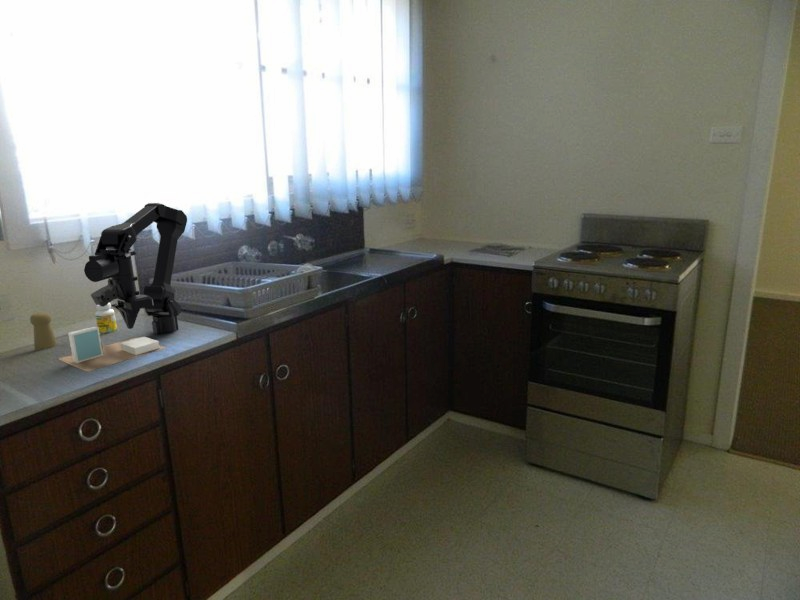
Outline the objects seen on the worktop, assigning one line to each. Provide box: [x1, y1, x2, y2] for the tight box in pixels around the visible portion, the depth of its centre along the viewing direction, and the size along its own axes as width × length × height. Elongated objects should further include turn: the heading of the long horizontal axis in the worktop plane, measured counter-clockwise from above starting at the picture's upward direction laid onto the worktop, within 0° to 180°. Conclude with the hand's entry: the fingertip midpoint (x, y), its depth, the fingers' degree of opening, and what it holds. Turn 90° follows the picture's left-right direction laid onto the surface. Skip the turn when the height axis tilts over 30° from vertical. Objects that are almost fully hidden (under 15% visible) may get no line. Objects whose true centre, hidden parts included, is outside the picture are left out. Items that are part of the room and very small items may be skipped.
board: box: [57, 337, 167, 373], centre depth 162 cm, size 22×17×1 cm
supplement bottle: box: [95, 302, 118, 335], centre depth 183 cm, size 5×5×10 cm
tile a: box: [120, 336, 161, 355], centre depth 164 cm, size 7×2×8 cm
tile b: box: [67, 325, 103, 363], centre depth 157 cm, size 7×2×8 cm, turn 142°
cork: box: [29, 311, 58, 352], centre depth 169 cm, size 6×6×11 cm
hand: (130, 328), depth 165 cm, fingers closed
